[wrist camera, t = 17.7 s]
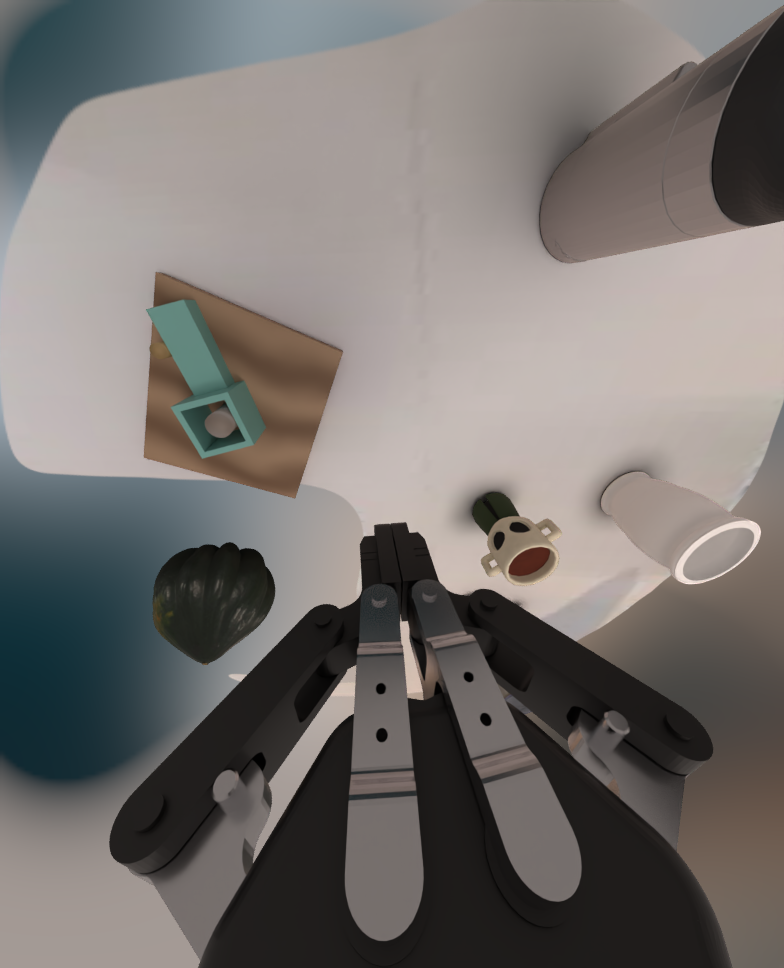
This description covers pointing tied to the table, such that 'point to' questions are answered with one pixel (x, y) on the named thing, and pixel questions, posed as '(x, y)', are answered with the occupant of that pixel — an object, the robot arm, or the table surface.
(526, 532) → the character mug
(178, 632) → the squash
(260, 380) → the base
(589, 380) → the table surface
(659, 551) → the jar
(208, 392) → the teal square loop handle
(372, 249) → the table surface
